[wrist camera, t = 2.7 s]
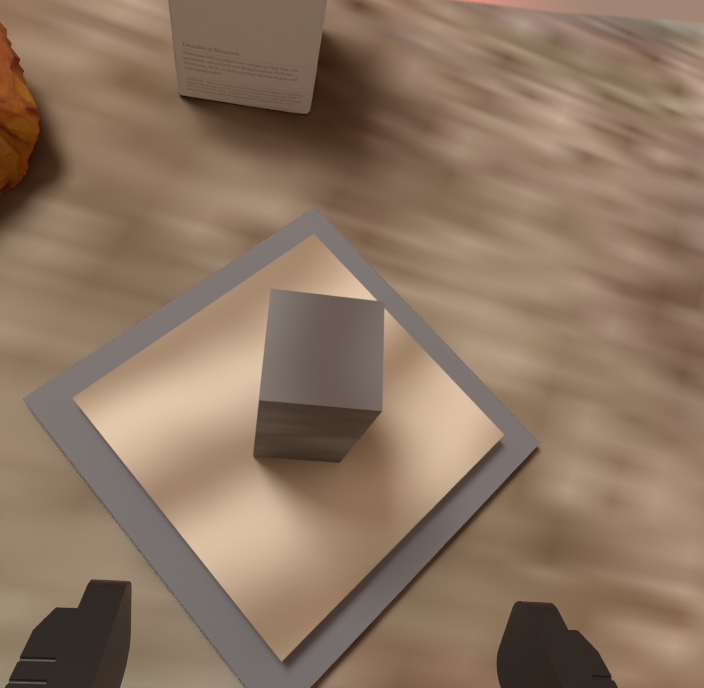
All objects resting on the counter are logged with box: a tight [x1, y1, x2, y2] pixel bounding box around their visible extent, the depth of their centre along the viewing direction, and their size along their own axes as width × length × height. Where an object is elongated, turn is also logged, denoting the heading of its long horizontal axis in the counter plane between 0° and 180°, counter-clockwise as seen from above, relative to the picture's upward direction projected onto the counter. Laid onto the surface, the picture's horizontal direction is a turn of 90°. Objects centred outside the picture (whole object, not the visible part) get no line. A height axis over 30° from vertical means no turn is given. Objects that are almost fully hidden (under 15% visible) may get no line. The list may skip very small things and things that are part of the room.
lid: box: [73, 234, 504, 662], centre depth 22 cm, size 13×13×9 cm
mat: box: [23, 207, 540, 688], centre depth 26 cm, size 16×16×1 cm
